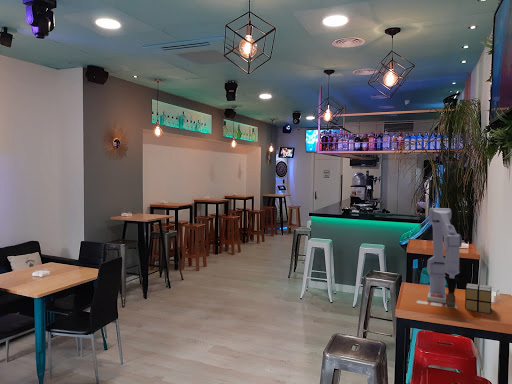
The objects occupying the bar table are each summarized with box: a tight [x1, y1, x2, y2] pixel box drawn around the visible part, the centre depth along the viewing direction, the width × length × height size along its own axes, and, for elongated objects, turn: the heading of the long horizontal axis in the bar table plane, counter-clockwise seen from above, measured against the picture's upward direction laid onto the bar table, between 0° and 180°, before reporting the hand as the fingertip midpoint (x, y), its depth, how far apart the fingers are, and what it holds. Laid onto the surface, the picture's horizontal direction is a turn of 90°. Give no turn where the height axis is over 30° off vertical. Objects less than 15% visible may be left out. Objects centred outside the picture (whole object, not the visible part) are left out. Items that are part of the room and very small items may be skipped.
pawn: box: [446, 291, 456, 308], centre depth 177 cm, size 3×3×7 cm
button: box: [431, 293, 443, 298], centre depth 187 cm, size 5×5×3 cm
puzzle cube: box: [464, 283, 493, 314], centre depth 176 cm, size 10×10×10 cm
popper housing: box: [426, 292, 447, 304], centre depth 187 cm, size 8×8×2 cm
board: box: [416, 299, 458, 309], centre depth 180 cm, size 6×18×1 cm, turn 64°
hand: (451, 290), depth 177 cm, fingers open, 7 cm apart
